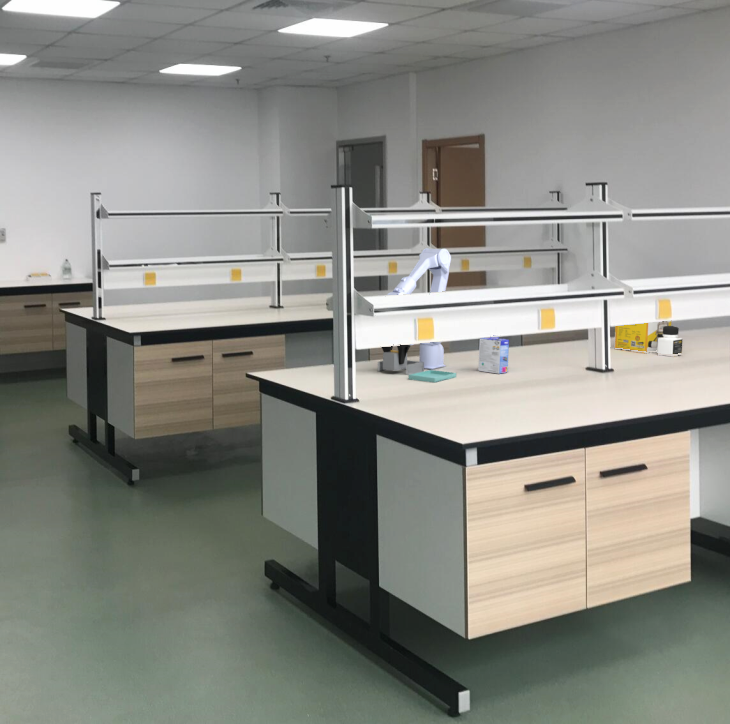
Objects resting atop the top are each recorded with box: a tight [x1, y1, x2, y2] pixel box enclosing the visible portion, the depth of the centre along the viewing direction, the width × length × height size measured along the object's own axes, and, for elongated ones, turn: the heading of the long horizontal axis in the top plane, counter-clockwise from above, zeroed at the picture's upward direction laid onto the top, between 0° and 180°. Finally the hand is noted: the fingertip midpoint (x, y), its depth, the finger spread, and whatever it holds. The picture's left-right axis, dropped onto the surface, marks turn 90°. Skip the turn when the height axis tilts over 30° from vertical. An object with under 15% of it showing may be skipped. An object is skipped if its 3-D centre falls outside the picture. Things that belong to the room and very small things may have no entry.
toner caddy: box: [382, 349, 408, 372], centre depth 349 cm, size 8×5×7 cm, turn 143°
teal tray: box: [408, 369, 457, 383], centre depth 338 cm, size 14×11×2 cm
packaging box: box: [613, 320, 672, 352], centre depth 408 cm, size 16×16×25 cm
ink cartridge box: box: [477, 336, 510, 375], centre depth 351 cm, size 10×6×14 cm, turn 46°
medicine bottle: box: [656, 325, 683, 354], centre depth 393 cm, size 7×7×12 cm
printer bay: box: [377, 359, 425, 376], centre depth 352 cm, size 10×14×4 cm
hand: (395, 363), depth 349 cm, fingers closed on toner caddy, 5 cm apart
